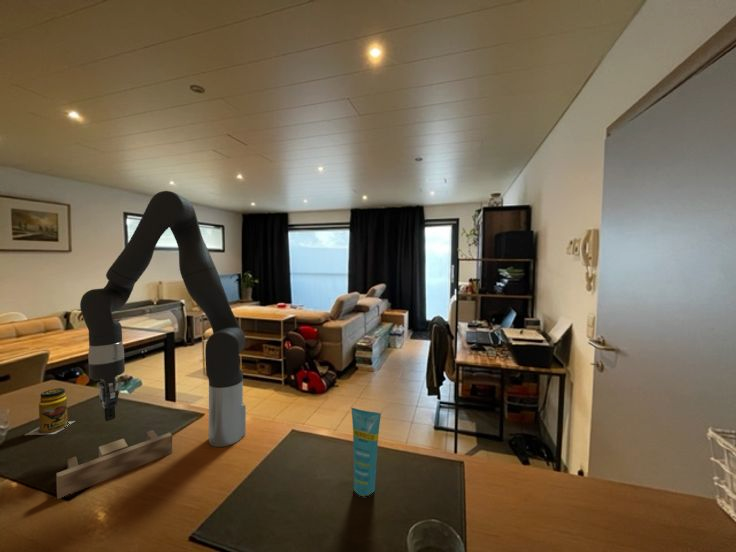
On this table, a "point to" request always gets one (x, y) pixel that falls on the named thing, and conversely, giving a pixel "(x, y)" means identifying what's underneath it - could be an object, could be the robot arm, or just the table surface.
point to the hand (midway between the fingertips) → (109, 419)
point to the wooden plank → (111, 464)
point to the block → (112, 447)
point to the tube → (365, 449)
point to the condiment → (52, 412)
